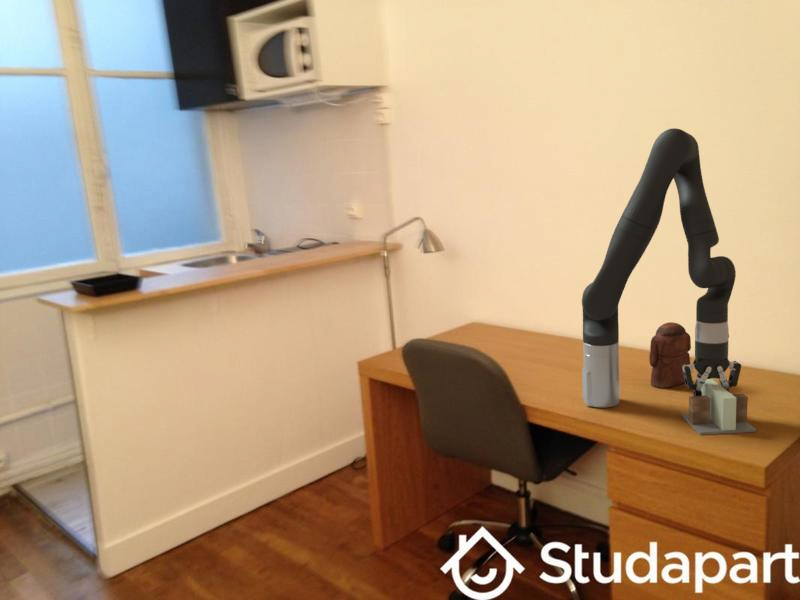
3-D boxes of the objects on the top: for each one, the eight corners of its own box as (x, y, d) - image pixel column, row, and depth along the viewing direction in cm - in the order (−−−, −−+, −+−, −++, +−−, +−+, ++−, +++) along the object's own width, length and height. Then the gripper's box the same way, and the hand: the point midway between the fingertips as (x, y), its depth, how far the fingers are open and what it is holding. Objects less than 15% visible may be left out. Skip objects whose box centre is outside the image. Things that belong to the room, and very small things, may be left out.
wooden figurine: (675, 376, 205) (676, 317, 202) (692, 382, 200) (693, 321, 196) (645, 384, 201) (644, 324, 197) (661, 390, 195) (661, 328, 191)
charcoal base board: (699, 434, 164) (699, 432, 164) (681, 416, 176) (681, 413, 176) (756, 431, 163) (756, 429, 163) (734, 413, 175) (734, 411, 175)
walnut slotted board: (692, 424, 169) (692, 399, 167) (688, 421, 171) (688, 396, 170) (747, 421, 168) (747, 396, 167) (742, 418, 170) (743, 393, 169)
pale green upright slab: (722, 430, 164) (723, 398, 163) (699, 409, 178) (699, 379, 176) (735, 429, 164) (736, 397, 162) (711, 408, 178) (711, 379, 176)
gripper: (735, 332, 173) (733, 396, 177) (676, 336, 174) (676, 399, 177) (748, 340, 166) (746, 407, 169) (687, 344, 167) (686, 410, 170)
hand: (710, 403), depth 173 cm, fingers open, 5 cm apart
